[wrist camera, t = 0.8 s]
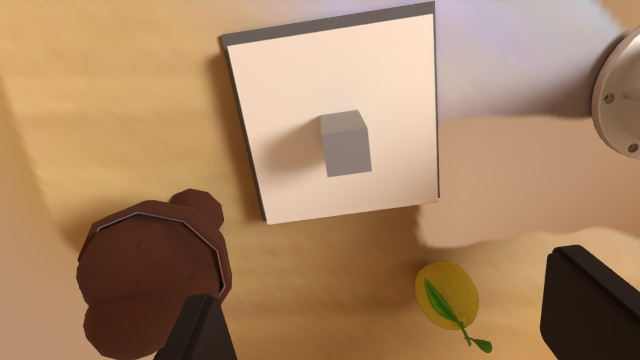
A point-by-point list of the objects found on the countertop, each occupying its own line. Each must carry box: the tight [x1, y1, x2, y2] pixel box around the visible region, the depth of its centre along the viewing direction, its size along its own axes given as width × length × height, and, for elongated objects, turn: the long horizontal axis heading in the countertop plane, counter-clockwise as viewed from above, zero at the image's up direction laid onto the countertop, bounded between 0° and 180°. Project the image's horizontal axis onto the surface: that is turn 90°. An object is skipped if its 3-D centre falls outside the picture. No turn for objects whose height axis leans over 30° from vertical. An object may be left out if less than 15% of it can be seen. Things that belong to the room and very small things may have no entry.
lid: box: [227, 14, 438, 225], centre depth 28 cm, size 15×15×8 cm
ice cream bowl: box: [76, 189, 232, 360], centre depth 29 cm, size 11×11×15 cm
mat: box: [221, 1, 440, 221], centre depth 32 cm, size 17×17×1 cm
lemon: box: [414, 261, 492, 353], centre depth 33 cm, size 7×6×10 cm
